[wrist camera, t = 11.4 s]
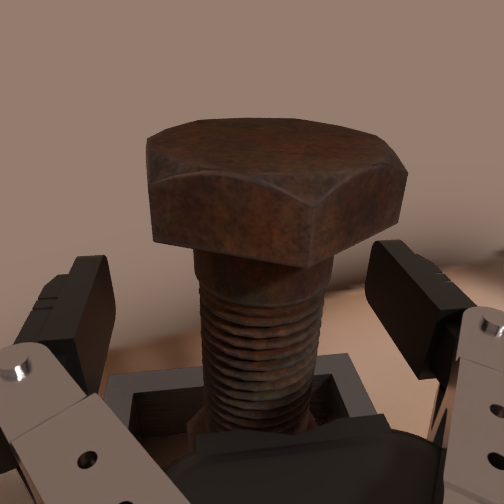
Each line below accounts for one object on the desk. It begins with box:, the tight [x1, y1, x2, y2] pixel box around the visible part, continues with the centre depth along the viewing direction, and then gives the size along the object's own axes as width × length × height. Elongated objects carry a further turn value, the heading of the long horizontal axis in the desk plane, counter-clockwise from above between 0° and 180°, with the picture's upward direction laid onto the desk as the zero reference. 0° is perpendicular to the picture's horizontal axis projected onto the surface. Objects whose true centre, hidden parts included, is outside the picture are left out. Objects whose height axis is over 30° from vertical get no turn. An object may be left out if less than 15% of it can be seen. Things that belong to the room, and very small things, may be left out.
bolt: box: [146, 118, 408, 454], centre depth 12 cm, size 6×5×15 cm
